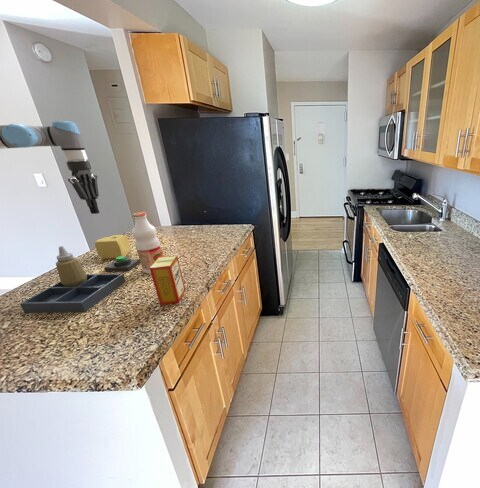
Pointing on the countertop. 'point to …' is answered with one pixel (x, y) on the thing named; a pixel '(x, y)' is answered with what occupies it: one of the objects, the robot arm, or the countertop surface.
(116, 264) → the panel
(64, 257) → the squeeze bottle
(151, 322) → the countertop surface
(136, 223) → the fruit juice
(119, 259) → the button
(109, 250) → the cheese
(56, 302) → the compartment tray
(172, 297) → the baking soda box
